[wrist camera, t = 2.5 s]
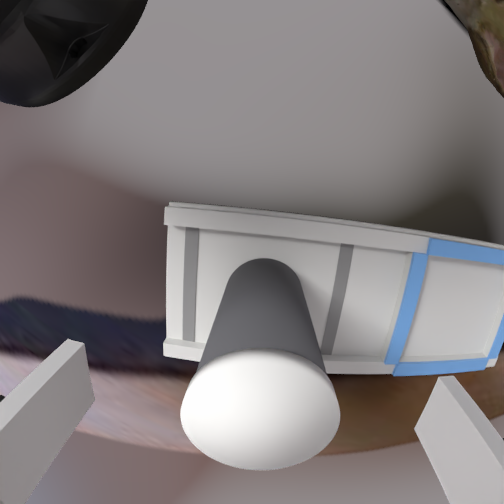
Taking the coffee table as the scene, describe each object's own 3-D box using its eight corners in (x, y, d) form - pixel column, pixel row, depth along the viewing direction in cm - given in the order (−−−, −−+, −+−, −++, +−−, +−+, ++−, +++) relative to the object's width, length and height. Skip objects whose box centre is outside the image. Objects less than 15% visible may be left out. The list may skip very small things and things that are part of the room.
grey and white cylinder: (226, 252, 18) (178, 352, 8) (309, 260, 18) (358, 368, 8) (221, 326, 19) (183, 460, 9) (297, 333, 19) (319, 471, 9)
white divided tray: (171, 201, 18) (163, 203, 17) (521, 248, 18) (533, 253, 16) (169, 348, 21) (162, 360, 19) (485, 360, 20) (494, 370, 19)
